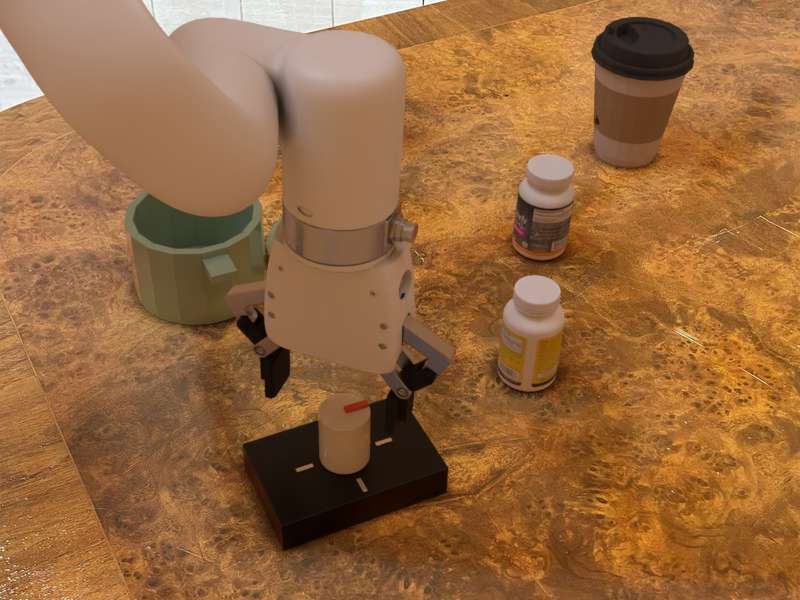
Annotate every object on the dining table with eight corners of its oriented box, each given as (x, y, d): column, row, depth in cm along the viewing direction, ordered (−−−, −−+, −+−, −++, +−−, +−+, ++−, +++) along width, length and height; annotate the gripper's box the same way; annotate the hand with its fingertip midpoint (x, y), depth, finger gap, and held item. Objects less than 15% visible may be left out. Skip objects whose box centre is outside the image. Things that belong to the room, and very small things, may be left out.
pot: (164, 357, 97) (153, 285, 92) (116, 247, 109) (103, 178, 104) (294, 321, 101) (291, 250, 96) (233, 219, 114) (227, 151, 108)
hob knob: (330, 480, 83) (329, 433, 79) (312, 445, 85) (310, 398, 82) (377, 465, 84) (378, 419, 81) (358, 431, 87) (358, 384, 83)
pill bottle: (507, 231, 114) (516, 151, 107) (559, 229, 114) (572, 149, 108) (517, 263, 109) (527, 182, 103) (571, 261, 110) (585, 181, 103)
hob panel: (283, 551, 81) (281, 524, 79) (244, 468, 87) (242, 442, 85) (446, 492, 86) (449, 466, 84) (399, 418, 92) (400, 392, 90)
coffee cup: (577, 122, 131) (595, 7, 122) (671, 132, 130) (696, 17, 121) (574, 172, 123) (593, 53, 113) (674, 183, 122) (702, 63, 112)
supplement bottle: (557, 356, 99) (571, 274, 92) (553, 397, 95) (568, 314, 88) (499, 348, 99) (509, 265, 93) (493, 389, 95) (503, 305, 89)
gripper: (482, 221, 71) (459, 403, 82) (245, 162, 75) (253, 343, 86) (448, 287, 65) (428, 472, 76) (194, 219, 69) (210, 405, 80)
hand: (335, 404), depth 81 cm, fingers open, 9 cm apart
